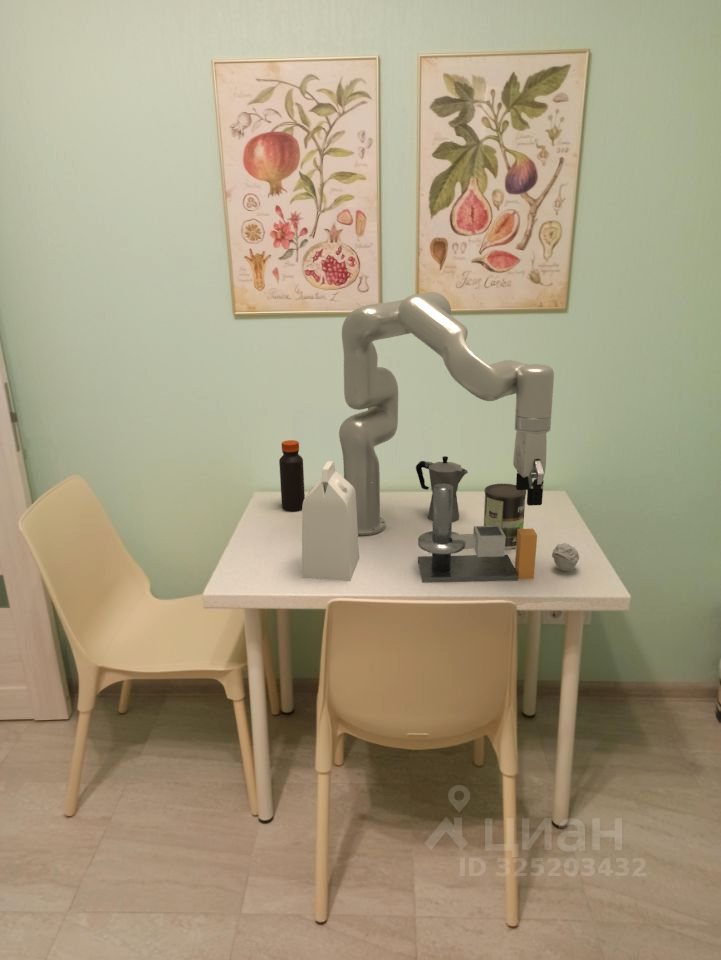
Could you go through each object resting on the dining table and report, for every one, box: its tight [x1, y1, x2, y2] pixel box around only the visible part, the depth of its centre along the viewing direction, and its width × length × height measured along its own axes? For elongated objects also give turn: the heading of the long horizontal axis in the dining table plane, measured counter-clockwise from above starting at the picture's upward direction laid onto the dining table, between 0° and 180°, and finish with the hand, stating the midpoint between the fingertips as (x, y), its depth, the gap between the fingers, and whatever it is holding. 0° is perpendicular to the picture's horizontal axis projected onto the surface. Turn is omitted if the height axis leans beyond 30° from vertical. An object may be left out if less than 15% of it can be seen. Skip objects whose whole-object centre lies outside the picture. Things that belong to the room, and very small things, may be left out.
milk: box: [301, 460, 360, 582], centre depth 159 cm, size 12×12×26 cm
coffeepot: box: [415, 455, 469, 524], centre depth 189 cm, size 15×9×18 cm, turn 59°
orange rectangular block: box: [514, 528, 538, 580], centre depth 157 cm, size 4×4×11 cm
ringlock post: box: [417, 484, 519, 583], centre depth 158 cm, size 22×11×21 cm, turn 91°
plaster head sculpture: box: [551, 542, 580, 572], centre depth 159 cm, size 6×7×7 cm
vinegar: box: [278, 439, 306, 512], centre depth 197 cm, size 7×7×20 cm
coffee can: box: [483, 483, 527, 550], centre depth 174 cm, size 10×10×14 cm
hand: (528, 497), depth 153 cm, fingers open, 9 cm apart
